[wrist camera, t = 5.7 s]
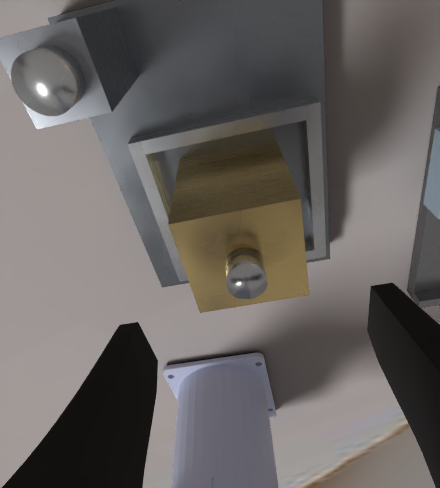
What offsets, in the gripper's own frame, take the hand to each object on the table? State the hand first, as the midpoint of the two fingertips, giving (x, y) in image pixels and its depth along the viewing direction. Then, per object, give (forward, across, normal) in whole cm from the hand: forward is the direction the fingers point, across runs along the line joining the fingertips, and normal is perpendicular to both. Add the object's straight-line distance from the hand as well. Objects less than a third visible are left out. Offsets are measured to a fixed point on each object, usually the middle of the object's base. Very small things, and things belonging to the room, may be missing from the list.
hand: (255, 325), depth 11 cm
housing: (+8, 0, 0) cm, 8 cm away
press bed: (+9, +1, -2) cm, 10 cm away
